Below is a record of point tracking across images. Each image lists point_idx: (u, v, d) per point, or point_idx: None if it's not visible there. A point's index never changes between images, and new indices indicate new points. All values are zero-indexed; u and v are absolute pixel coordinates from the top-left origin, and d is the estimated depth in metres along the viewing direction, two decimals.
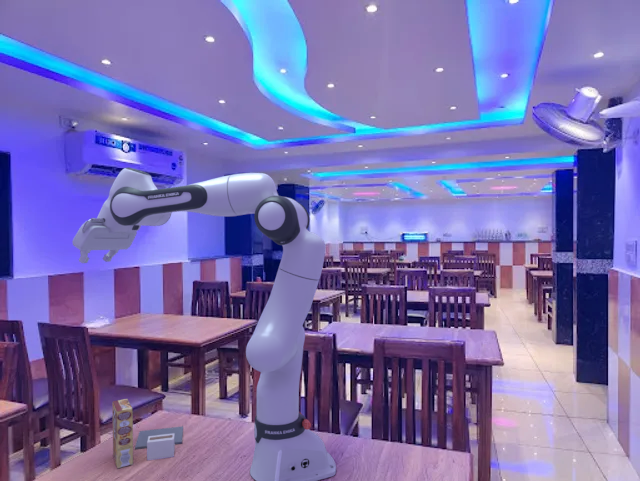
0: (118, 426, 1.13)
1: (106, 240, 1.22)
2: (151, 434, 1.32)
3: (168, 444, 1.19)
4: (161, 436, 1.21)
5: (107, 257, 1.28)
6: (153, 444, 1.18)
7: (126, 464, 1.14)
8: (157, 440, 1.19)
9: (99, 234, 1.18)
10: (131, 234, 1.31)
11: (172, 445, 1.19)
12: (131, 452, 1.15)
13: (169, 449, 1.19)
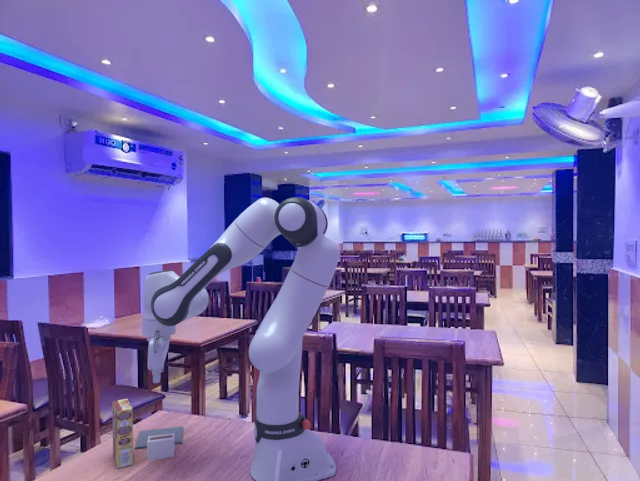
0: (118, 426, 1.13)
1: (164, 349, 1.19)
2: (151, 434, 1.32)
3: (168, 444, 1.19)
4: (161, 436, 1.21)
5: None
6: (153, 444, 1.18)
7: (126, 464, 1.14)
8: (157, 440, 1.19)
9: None
10: None
11: (172, 445, 1.19)
12: (131, 452, 1.15)
13: (169, 449, 1.19)
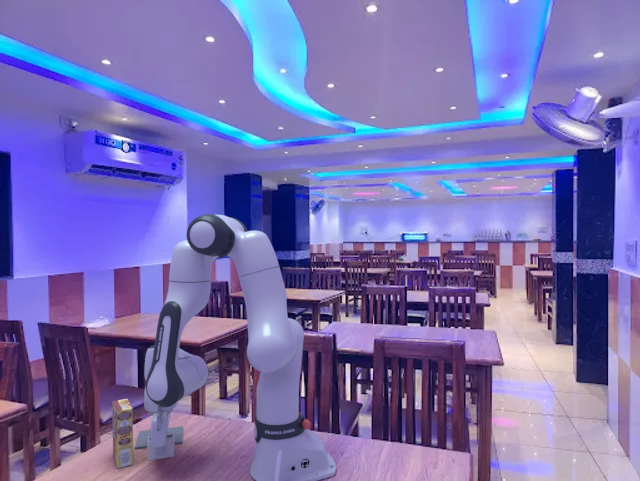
0: (118, 426, 1.13)
1: (167, 422, 1.19)
2: None
3: (168, 443, 1.19)
4: None
5: None
6: None
7: (126, 464, 1.14)
8: None
9: None
10: None
11: (172, 444, 1.19)
12: (131, 452, 1.15)
13: (169, 449, 1.19)
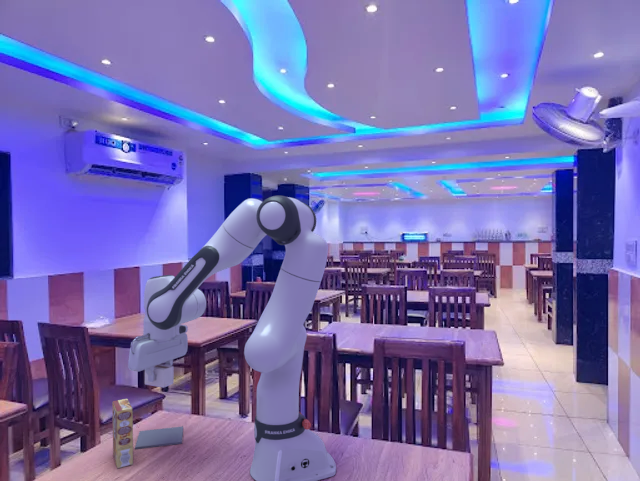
0: (118, 426, 1.13)
1: (159, 352, 1.22)
2: (151, 434, 1.32)
3: (159, 373, 1.22)
4: (160, 365, 1.25)
5: None
6: None
7: (126, 464, 1.14)
8: None
9: (149, 349, 1.19)
10: (182, 339, 1.31)
11: (162, 375, 1.21)
12: (131, 452, 1.15)
13: (160, 378, 1.22)
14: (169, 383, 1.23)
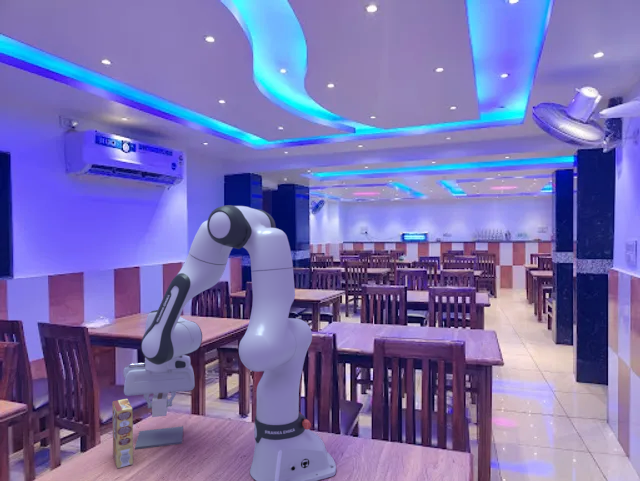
0: (118, 426, 1.13)
1: (152, 382, 1.28)
2: (151, 434, 1.32)
3: None
4: (161, 395, 1.31)
5: (167, 402, 1.31)
6: None
7: (126, 464, 1.14)
8: (155, 395, 1.31)
9: (140, 378, 1.28)
10: (186, 374, 1.31)
11: (152, 405, 1.27)
12: (131, 452, 1.15)
13: (152, 407, 1.28)
14: (160, 414, 1.28)
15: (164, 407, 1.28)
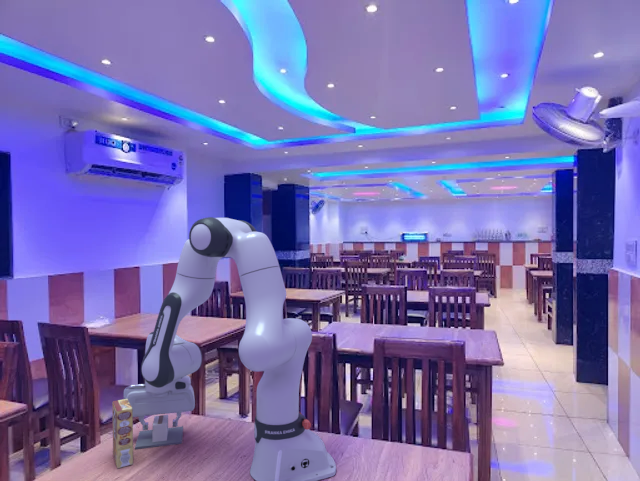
0: (118, 426, 1.13)
1: (153, 404, 1.28)
2: (151, 434, 1.32)
3: None
4: (161, 419, 1.31)
5: None
6: (154, 420, 1.32)
7: (126, 464, 1.14)
8: (155, 419, 1.31)
9: (141, 399, 1.28)
10: (186, 394, 1.31)
11: (152, 430, 1.27)
12: (131, 452, 1.15)
13: None
14: (160, 439, 1.27)
15: (164, 432, 1.28)
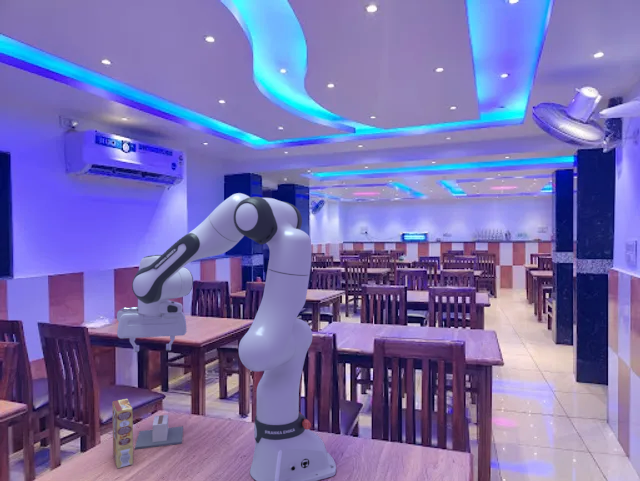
0: (118, 426, 1.13)
1: (145, 326, 1.32)
2: (151, 434, 1.32)
3: None
4: (161, 419, 1.31)
5: (166, 345, 1.35)
6: (154, 420, 1.32)
7: (126, 464, 1.14)
8: (155, 419, 1.31)
9: (133, 321, 1.31)
10: (178, 319, 1.34)
11: (152, 430, 1.27)
12: (131, 452, 1.15)
13: None
14: (160, 439, 1.27)
15: (164, 432, 1.28)
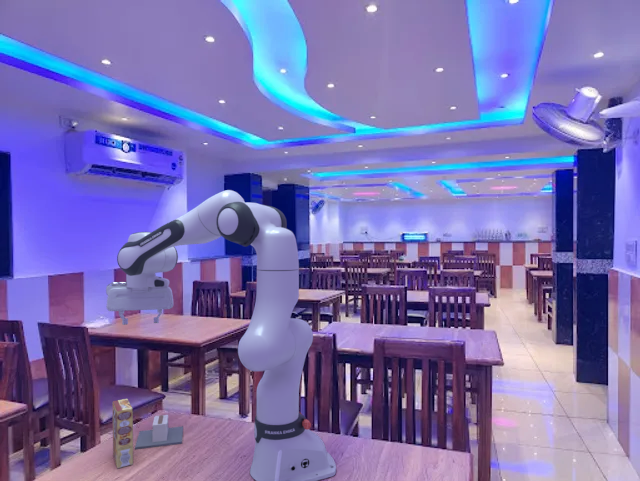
0: (118, 426, 1.13)
1: (133, 300, 1.38)
2: (151, 434, 1.32)
3: None
4: (161, 419, 1.31)
5: None
6: (154, 420, 1.32)
7: (126, 464, 1.14)
8: (155, 419, 1.31)
9: (122, 295, 1.37)
10: (165, 293, 1.41)
11: (152, 430, 1.27)
12: (131, 452, 1.15)
13: None
14: (160, 439, 1.27)
15: (164, 432, 1.28)
